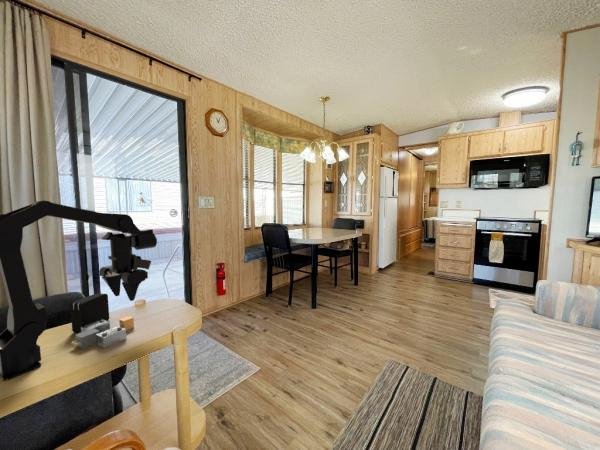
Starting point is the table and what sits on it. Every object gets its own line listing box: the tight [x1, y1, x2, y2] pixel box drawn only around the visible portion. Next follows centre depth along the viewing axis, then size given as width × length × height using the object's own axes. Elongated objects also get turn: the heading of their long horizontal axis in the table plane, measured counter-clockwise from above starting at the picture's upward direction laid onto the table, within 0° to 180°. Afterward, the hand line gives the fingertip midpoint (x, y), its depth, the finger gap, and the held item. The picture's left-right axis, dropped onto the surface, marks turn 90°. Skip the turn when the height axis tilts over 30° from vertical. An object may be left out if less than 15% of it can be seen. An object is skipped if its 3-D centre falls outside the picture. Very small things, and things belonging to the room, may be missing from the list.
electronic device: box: [69, 293, 110, 333], centre depth 87 cm, size 4×10×10 cm, turn 174°
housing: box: [80, 319, 127, 349], centre depth 79 cm, size 6×14×4 cm, turn 61°
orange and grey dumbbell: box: [71, 315, 135, 350], centre depth 79 cm, size 16×4×4 cm, turn 151°
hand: (124, 298), depth 84 cm, fingers open, 9 cm apart
